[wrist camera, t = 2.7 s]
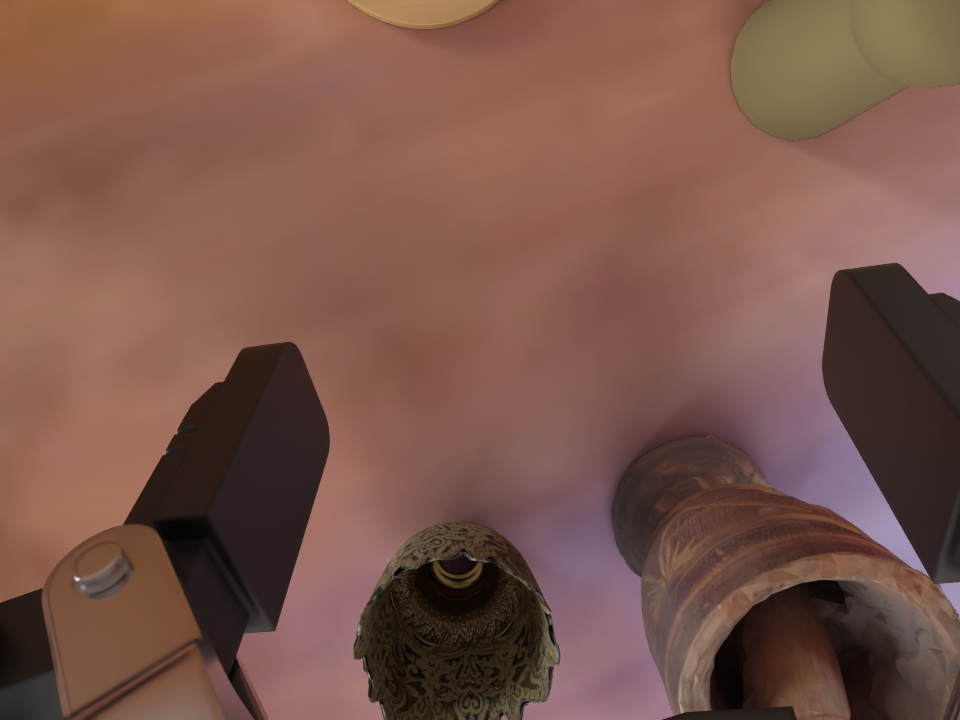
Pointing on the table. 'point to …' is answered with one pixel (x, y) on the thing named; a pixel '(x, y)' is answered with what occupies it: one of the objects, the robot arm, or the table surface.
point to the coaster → (423, 11)
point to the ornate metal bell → (457, 630)
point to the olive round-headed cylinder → (839, 59)
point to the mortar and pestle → (776, 596)
